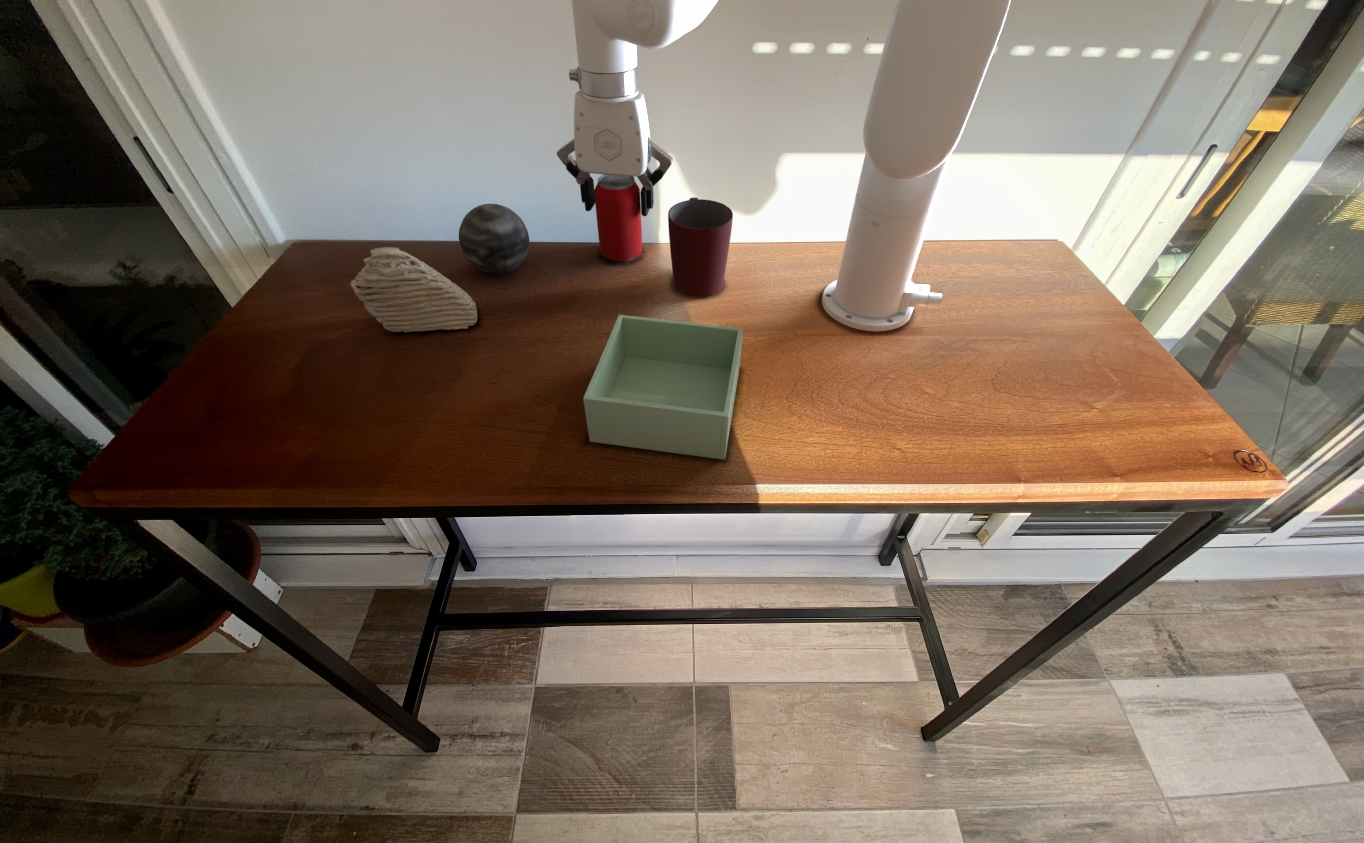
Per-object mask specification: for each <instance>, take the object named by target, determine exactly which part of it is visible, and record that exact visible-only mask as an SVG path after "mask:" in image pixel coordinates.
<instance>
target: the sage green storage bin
mask: <svg viewBox="0 0 1364 843" xmlns="http://www.w3.org/2000/svg"><path fill="white" fill-rule="evenodd" d="M743 335H744V328H743V327H736V326H726V325H719V324H718V325H717V324H708V323H700V322H690V321H689V322H688V321H681V320H672V319H671V320H670V319H663V318H653V317H643V316H634V315H627V314H618V316H617V318H616V320H615V323H614V325H613V327H612V330H611V332H610V334H609V337H608V340H607V342H606V344H605V346H604V349H603V351H602V354H601V355H600V358H599V359H598V362H597V364H596V367H595V370H594V372H593V375H592V377H591V379H590V381H589V384H588V386H587V388H586V391H585V393H584V396H583V398H582V401H583V407H584V413H585V414H584V415H585V420H586V427H587V433H588V440H589V443H591V442H592V443H596V444H597V443H598V444H605V445H612V446H620V447H627V448H635V449H640V450H641V449H642V450H648V451H649V450H650V451H656V452H664V453H672V454H679V455H685V456H695V457H700V458H701V457H702V458H707V459H708V458H709V459H717V460H723V461H724V460H726V455H727V449H728V443H729V436H730V431H731V425H732V419H733V413H734V406H735V400H736V394H737V387H738V382H739V376H740V368H741V357H742V349H743V338H744V336H743Z"/></svg>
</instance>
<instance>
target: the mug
mask: <svg viewBox="0 0 1364 843" xmlns="http://www.w3.org/2000/svg"><path fill="white" fill-rule="evenodd" d="M667 212H668V213H667V225H668V239H669V249H670V260H671V270H672V280H673V287H674V288H675V289H676V290H677V292H679V293H681V294H682V295H686V296H688V297H693V298H694V297H695V298H704V297H711V296H713V295H715V294H717V293H719V292H720V291H721V290H722V288H723V287H724V281H725V275H726V268H727V263H728V256H729V249H730V243H731V237H732V230H733V229H732V228H733V220H734V219H733V218H734V213H733V211H732V209H731V208H730V207H729V206H727V205H726V204H724V203H722V202H719V201H717V200H711V199H699V198H698V197H690V198H689V199H688V200H687V199H686V200H683V201H680V202H677V203H675V204H673V205H672V206H671V207H670V208H669V210H668V211H667Z"/></svg>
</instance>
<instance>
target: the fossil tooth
mask: <svg viewBox="0 0 1364 843" xmlns="http://www.w3.org/2000/svg"><path fill="white" fill-rule="evenodd" d="M369 250H370V251H369V252H370V254H371V255H370V256H369V257H368V256H367V257H366V258H364V259H363V260H362V262H363V263H364V264H365V266H364V267H363V268H361V270H360V271H357V275H356V276H355V277H354V279H352V280H351V281H350V283H349V285H350V287H351V288H352V290H353V291H354V294H355V296H356V297H357V298H358V300H359V301H361V302H363V306H364V308H365V310H366V311H367V312H368V313H369V314H370V315H371V317H373V318H375V319H376V321H377V322H378V323H380V324H382V327H383V328H384V330H386V331H389V332H393V333H400V332H404V333H410V332H426V331H436V330H447V331H450V330H451V331H452V330H459V329H469V326H474V325H475V324H476V323H477V320H478V310H477V305H476V302H475V301H474V300H473V298H472V297H471V296H470V295H469V294H468V292H466V291H465V290H464V289H462V288H461V286H458V284H456V283H454V282H453V281H451V280H450V279H449V278H448V277H446V276H444V275H443V274H441V272H439V271H437V270H436V269H435V268H433V267H432V266H430V265H428V264H427V263H425V262H424V261H421V260H420V259H418V258H417V257H415V256H414V255H412V254H410V253H408V252H407V251H403V250H401V249H400V248H398V247H393V246H392V247H390V246H385V247H375V248H372V249H369Z"/></svg>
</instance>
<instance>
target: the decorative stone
mask: <svg viewBox="0 0 1364 843" xmlns="http://www.w3.org/2000/svg"><path fill="white" fill-rule="evenodd" d="M458 242H459V246H460V249H461V252H462V254H463V255H464V258H466V260H467V261H468V262H469V263H470V264H471V265H472V266H474V268H476V269H477V270H479V271H481V272H484V273H487V274H490V275H503V274H504V275H505V274H507V273H510V272H512V271H515V270H516V269H517V268H519V267H520V266H521V265H522V263H523V262H524V261H525V260H526V258H527V255H528V252H529V248H530V235H529V232H528V229H527V227H526V225H525V222H524V221H523V219H522V218H521V217H520V216H519V215H518V214H517V213H516V212H514V211H513V210H512V209H511V208H509V207H507V206H504V205H502V204H499V203H483V204H480V205H477V206H475V207H473V208H472V209H471V210H470V211H468V212H467V213H466V214H465V216H464V217H463V219H462V221H461V223H460V226H459V229H458Z"/></svg>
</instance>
